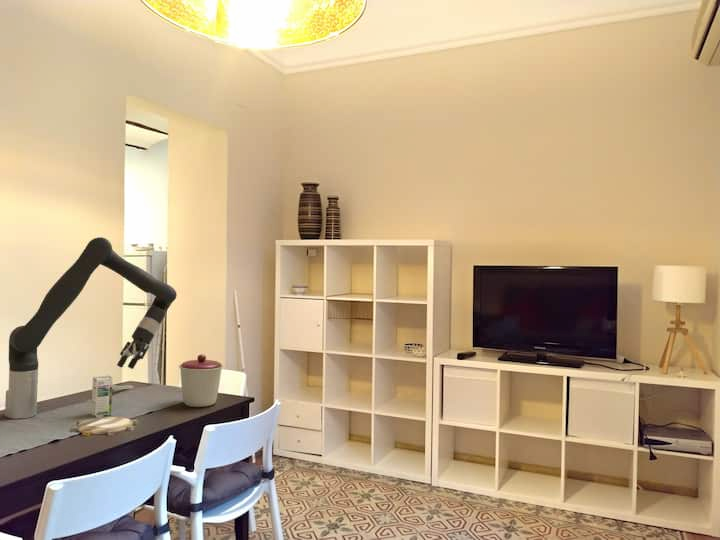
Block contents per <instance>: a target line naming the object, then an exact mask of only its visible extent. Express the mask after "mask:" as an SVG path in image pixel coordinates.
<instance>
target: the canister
mask: <svg viewBox="0 0 720 540" xmlns="http://www.w3.org/2000/svg"><path fill="white" fill-rule="evenodd" d="M178 368H179V369H180V381H181V382H180V383H181V395H182V401H183V404H184V405H186V406H188V407H193V408H203V407H204V408H205V407H209V406H212V405H214V404H215V403H216V401H217V399H218V393H219V388H220V382H221V374H222V370H223V368H224V365H223V364H222V363H221V362H220V361H218V360H212V359H207V356H206V355H205V354H199V355H198V356H197V358H196V359H192V360H191V359H190V360H186V361H184V362H182V363H181V364H179V365H178Z"/></svg>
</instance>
